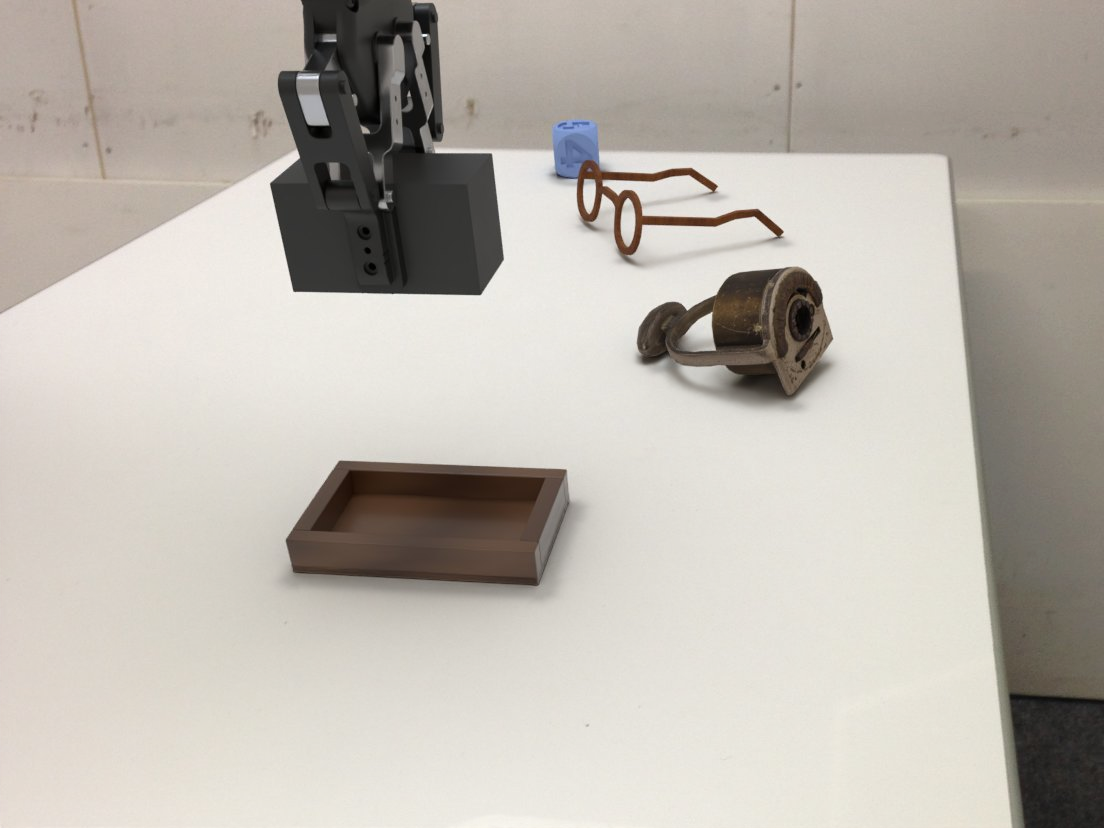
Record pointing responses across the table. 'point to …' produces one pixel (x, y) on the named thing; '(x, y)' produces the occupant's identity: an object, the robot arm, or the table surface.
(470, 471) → the tray
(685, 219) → the glasses
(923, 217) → the table surface
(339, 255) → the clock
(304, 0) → the robot arm
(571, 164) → the decorative dice
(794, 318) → the antique brass mechanism
